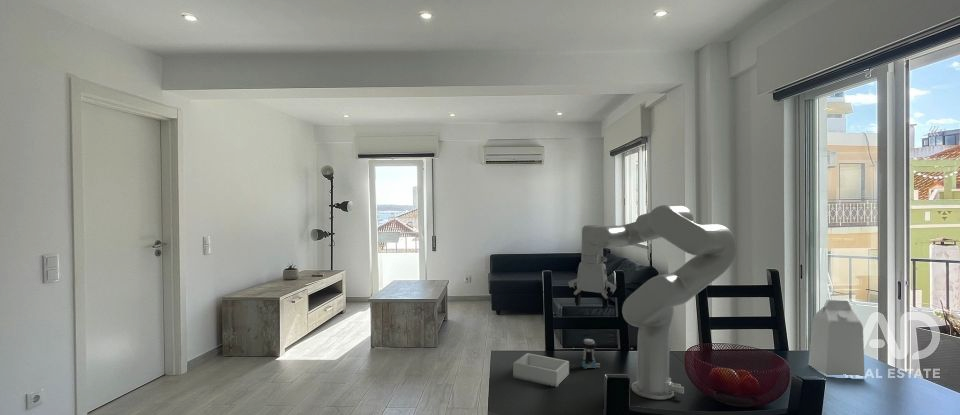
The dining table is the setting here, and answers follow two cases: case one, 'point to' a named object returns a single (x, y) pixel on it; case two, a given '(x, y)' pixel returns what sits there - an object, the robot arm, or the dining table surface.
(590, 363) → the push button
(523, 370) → the bin
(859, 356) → the milk
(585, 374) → the dining table surface
